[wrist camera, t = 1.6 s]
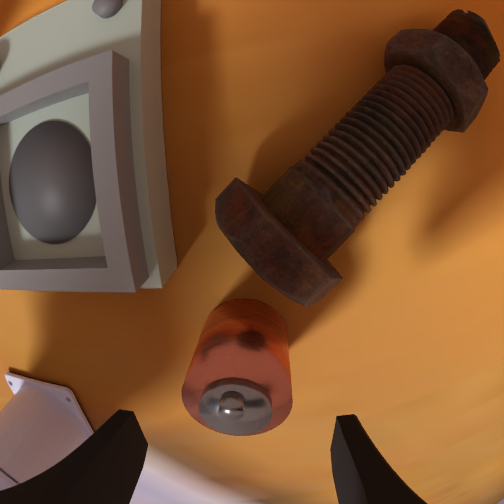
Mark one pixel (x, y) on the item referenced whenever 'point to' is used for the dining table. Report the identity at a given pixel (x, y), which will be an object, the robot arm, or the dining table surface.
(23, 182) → the button control panel
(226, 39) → the dining table surface
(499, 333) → the dining table surface
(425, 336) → the dining table surface
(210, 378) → the orange short cylinder
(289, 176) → the bolt
